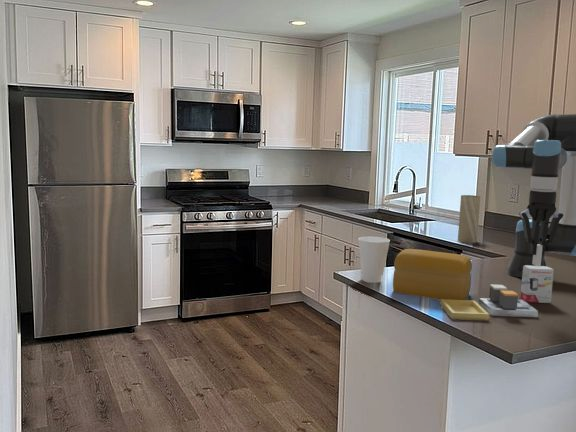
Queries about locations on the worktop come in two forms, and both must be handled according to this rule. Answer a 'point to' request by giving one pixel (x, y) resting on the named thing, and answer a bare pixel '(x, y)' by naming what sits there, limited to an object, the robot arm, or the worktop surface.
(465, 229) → the tube
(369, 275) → the cup
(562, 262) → the worktop surface
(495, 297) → the toggle plain
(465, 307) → the yellow tray
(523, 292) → the ink box
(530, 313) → the panel
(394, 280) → the bread
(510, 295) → the grey block
